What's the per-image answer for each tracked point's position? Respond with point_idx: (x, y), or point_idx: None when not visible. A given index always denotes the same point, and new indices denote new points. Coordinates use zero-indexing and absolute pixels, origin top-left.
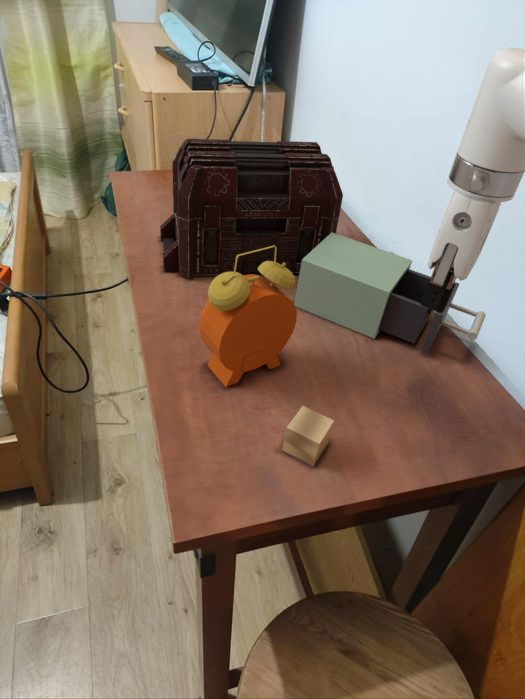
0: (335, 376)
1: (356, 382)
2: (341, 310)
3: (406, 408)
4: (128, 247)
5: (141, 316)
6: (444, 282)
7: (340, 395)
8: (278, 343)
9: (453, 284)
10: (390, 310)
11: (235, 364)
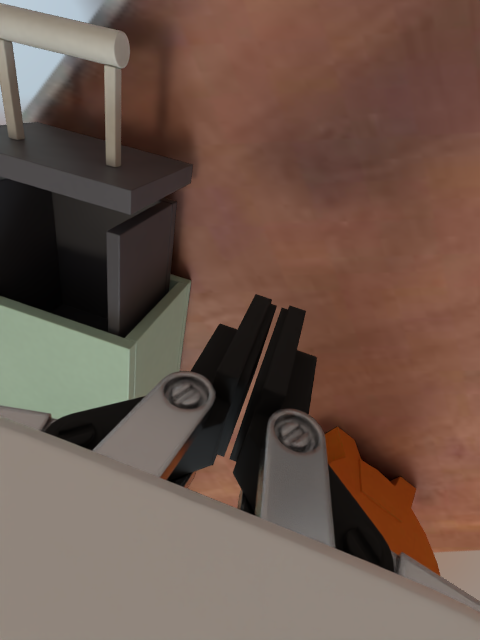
0: (337, 347)
1: (343, 310)
2: (168, 365)
3: (403, 203)
4: None
5: None
6: (410, 577)
7: (392, 338)
8: (345, 480)
9: (228, 383)
10: (142, 299)
11: (411, 520)
